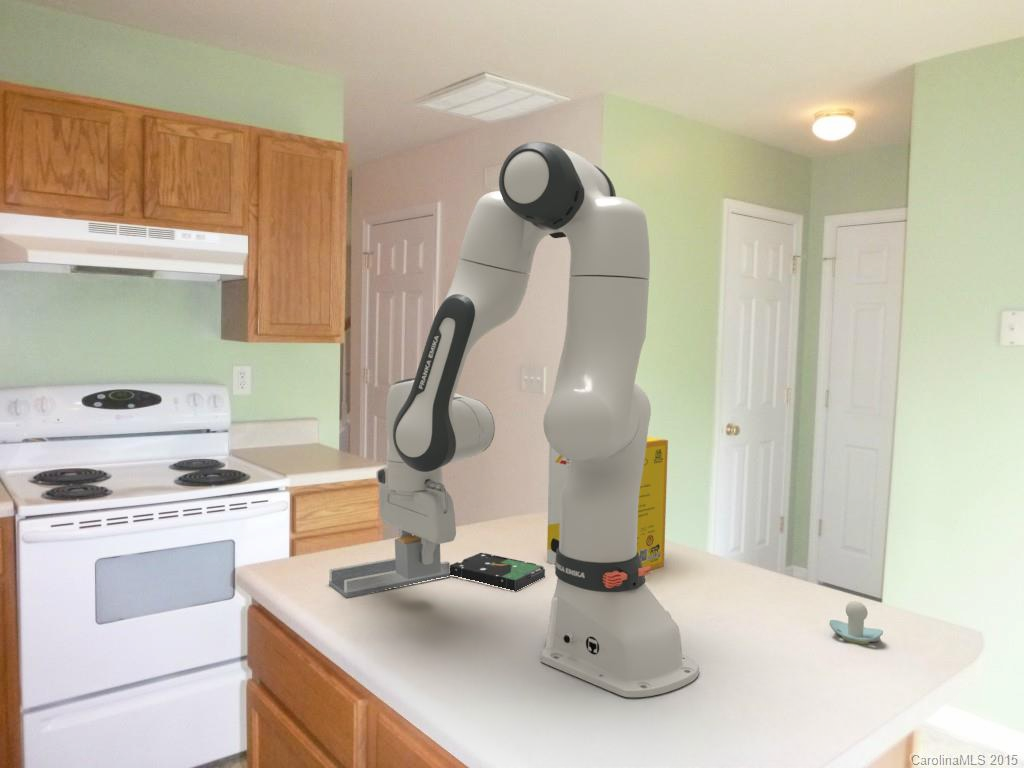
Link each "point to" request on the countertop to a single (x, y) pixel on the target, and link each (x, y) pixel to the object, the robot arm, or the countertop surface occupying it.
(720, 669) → the countertop surface
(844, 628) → the pacifier
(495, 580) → the disk drive
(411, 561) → the module
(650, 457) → the packaging box
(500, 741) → the countertop surface
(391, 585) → the rail
